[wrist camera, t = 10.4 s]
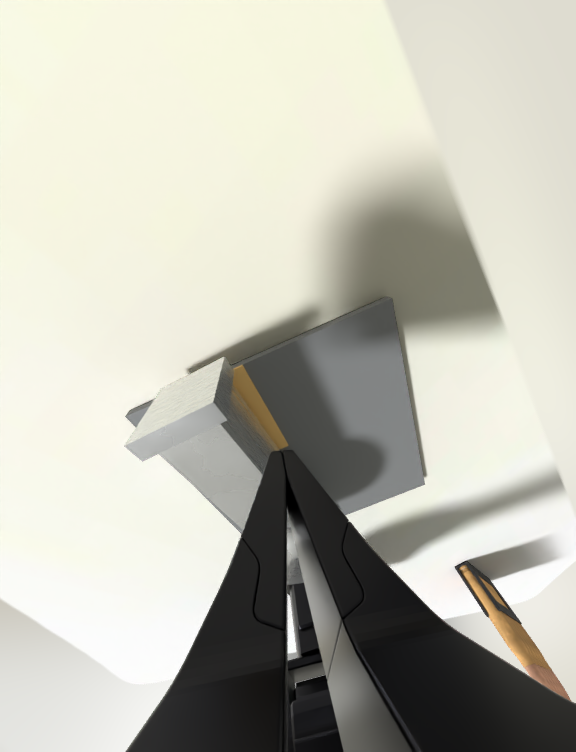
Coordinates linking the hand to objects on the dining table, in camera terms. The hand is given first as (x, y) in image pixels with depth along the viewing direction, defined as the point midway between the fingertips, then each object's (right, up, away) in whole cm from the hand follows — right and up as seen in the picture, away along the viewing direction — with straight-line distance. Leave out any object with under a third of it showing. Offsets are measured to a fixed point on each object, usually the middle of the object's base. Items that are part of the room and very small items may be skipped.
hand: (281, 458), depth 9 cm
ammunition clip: (+27, -26, +26) cm, 46 cm away
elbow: (-1, -3, +8) cm, 8 cm away
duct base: (+2, -3, +9) cm, 10 cm away
